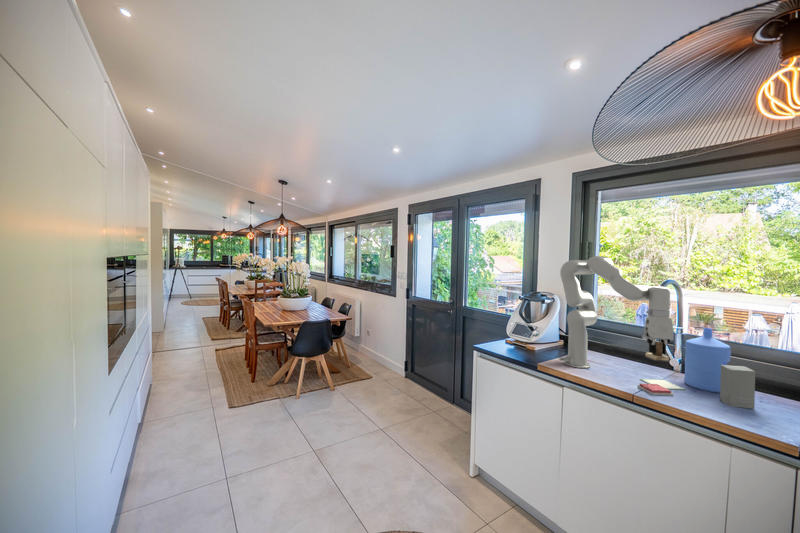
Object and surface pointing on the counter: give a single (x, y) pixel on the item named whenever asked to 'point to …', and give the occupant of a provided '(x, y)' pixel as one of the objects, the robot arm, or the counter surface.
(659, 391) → the ink pad
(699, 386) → the water jug
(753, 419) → the counter surface
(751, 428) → the counter surface
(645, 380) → the marked square
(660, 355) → the wooden stamp
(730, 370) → the skincare box
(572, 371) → the counter surface
